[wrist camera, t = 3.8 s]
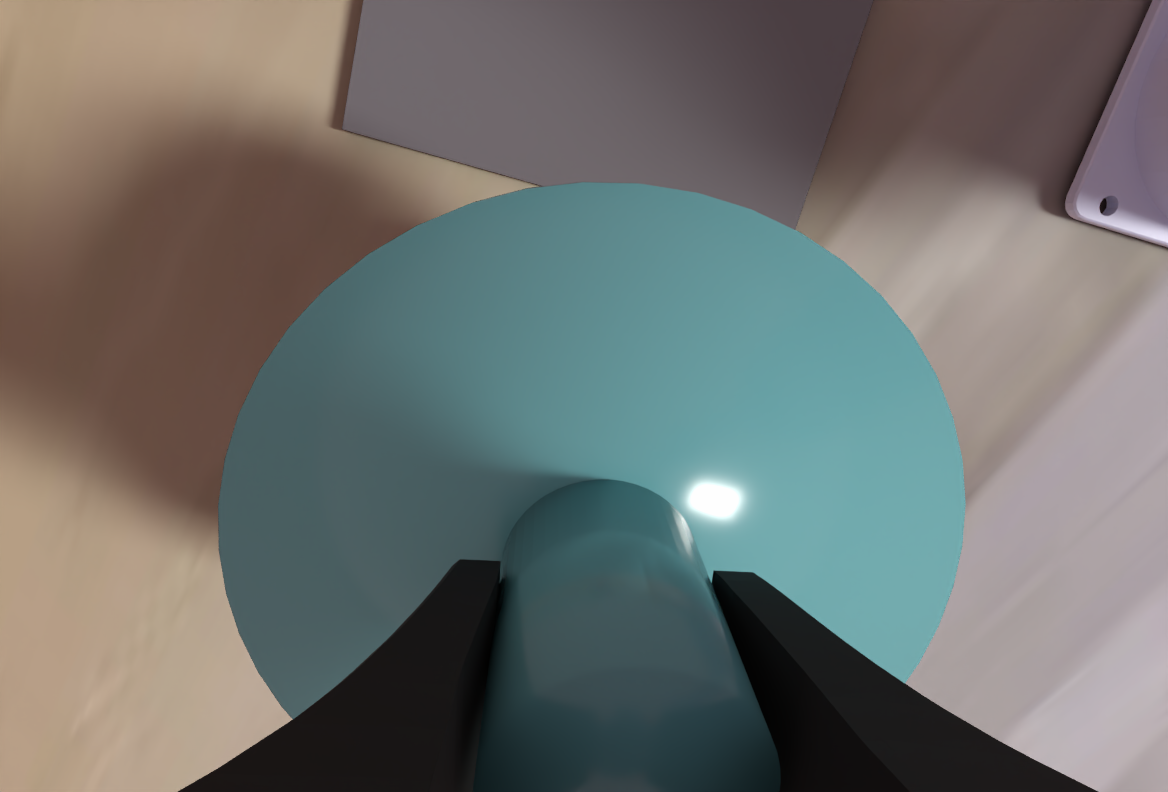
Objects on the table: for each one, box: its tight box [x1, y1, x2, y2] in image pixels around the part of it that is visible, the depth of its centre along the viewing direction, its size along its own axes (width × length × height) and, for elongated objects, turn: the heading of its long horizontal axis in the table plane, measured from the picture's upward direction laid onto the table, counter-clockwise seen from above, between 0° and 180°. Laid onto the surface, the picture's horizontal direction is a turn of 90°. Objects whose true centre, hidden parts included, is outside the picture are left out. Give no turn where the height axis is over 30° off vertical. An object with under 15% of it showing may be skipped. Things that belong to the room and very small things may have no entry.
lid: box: [218, 182, 965, 792], centre depth 9 cm, size 12×12×5 cm
